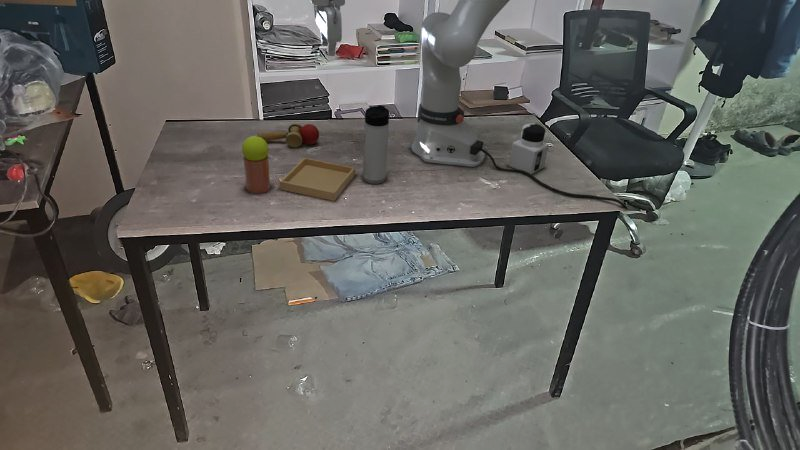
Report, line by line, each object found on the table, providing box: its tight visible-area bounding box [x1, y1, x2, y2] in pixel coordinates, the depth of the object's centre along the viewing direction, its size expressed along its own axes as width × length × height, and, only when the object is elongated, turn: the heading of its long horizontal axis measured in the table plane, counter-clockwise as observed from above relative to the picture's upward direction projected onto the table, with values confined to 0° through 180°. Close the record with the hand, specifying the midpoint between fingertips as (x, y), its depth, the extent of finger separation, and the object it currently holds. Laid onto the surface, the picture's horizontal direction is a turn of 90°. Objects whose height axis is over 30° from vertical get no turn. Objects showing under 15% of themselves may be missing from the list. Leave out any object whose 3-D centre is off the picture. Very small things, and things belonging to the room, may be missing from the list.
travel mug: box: [362, 104, 390, 185], centre depth 149 cm, size 6×7×20 cm
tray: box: [279, 157, 356, 202], centre depth 150 cm, size 15×15×2 cm
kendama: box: [257, 122, 320, 148], centre depth 168 cm, size 8×6×18 cm
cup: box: [243, 155, 271, 194], centre depth 143 cm, size 6×6×9 cm
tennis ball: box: [241, 135, 269, 161], centre depth 140 cm, size 6×6×6 cm
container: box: [508, 123, 550, 175], centre depth 163 cm, size 8×8×13 cm
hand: (328, 50), depth 153 cm, fingers open, 8 cm apart
